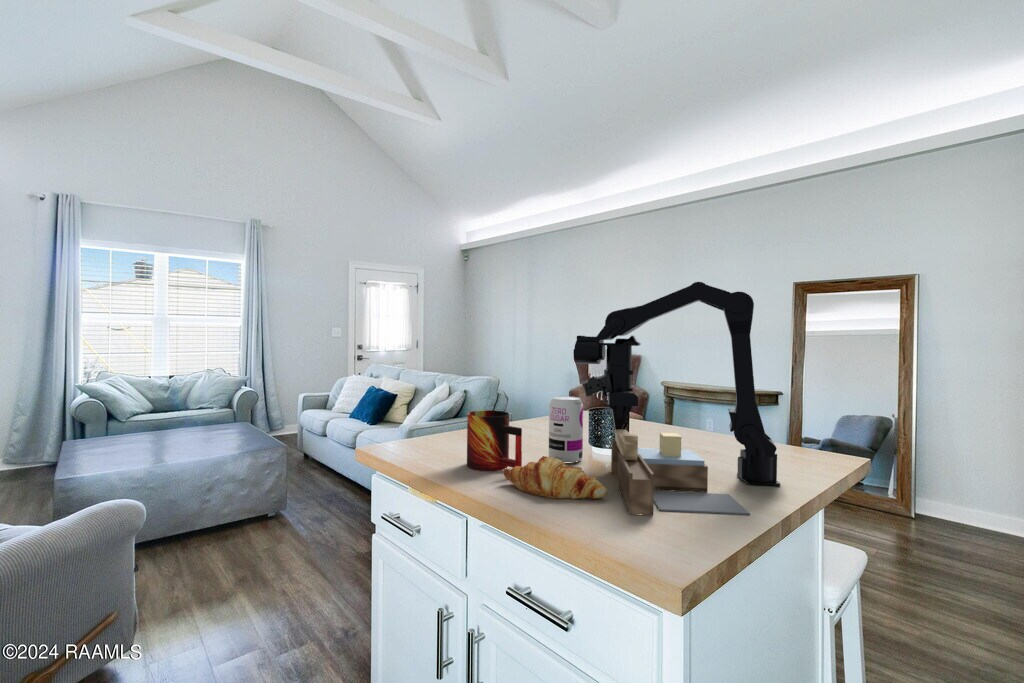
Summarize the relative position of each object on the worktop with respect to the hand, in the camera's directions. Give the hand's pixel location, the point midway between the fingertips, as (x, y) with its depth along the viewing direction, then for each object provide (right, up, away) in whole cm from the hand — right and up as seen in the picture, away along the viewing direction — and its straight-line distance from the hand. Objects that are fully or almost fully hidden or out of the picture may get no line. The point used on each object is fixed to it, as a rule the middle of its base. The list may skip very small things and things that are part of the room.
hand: (617, 431), depth 112 cm
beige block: (-1, -2, -13) cm, 13 cm away
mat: (+9, -8, -25) cm, 28 cm away
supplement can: (-12, -8, +4) cm, 15 cm away
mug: (-28, -8, -2) cm, 29 cm away
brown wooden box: (+5, -8, -19) cm, 21 cm away
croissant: (-17, -8, -20) cm, 27 cm away
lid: (+6, -3, -13) cm, 15 cm away
